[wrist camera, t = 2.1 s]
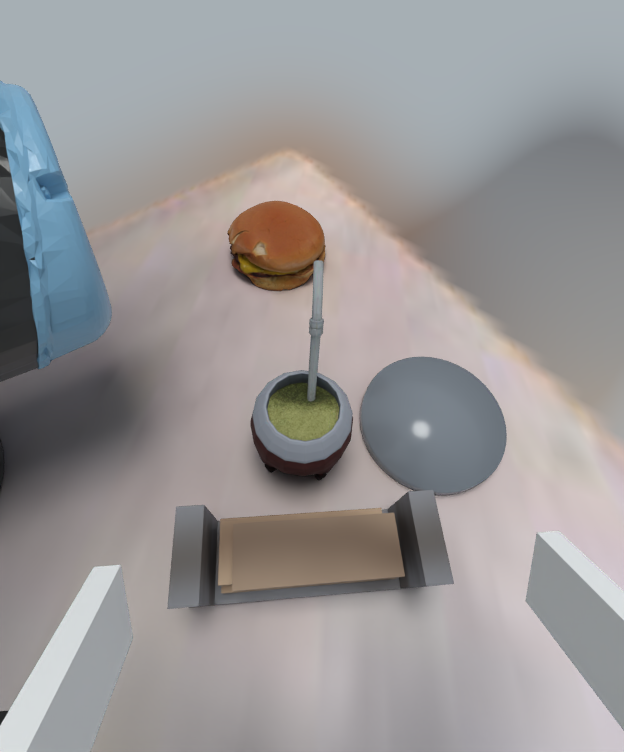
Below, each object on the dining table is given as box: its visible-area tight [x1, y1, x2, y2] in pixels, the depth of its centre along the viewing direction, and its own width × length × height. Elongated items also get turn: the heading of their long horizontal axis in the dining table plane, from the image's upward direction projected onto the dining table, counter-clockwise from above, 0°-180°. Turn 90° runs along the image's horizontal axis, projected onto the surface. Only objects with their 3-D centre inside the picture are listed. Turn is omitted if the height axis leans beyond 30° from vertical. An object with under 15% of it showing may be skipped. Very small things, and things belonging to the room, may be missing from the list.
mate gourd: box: [251, 260, 353, 480], centre depth 26 cm, size 8×8×15 cm
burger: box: [227, 201, 325, 291], centre depth 41 cm, size 10×9×5 cm
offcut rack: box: [167, 490, 454, 609], centre depth 26 cm, size 5×16×6 cm, turn 94°
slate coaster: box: [360, 357, 507, 495], centre depth 33 cm, size 12×12×1 cm
